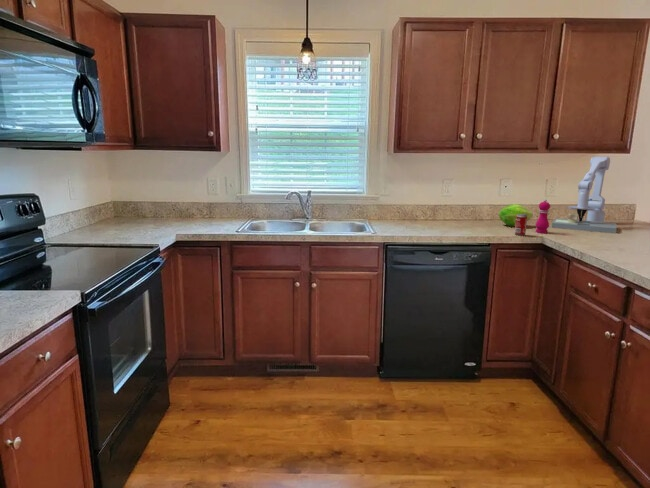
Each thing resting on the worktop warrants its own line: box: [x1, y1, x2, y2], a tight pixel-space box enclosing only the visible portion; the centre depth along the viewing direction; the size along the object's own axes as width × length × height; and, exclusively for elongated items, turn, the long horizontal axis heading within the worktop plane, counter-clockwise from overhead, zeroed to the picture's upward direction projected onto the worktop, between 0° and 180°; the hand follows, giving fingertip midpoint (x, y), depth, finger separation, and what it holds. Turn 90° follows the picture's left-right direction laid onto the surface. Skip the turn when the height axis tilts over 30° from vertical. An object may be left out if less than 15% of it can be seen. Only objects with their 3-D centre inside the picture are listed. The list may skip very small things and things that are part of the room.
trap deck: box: [551, 217, 618, 234], centre depth 271 cm, size 34×22×3 cm, turn 56°
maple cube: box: [567, 213, 579, 223], centre depth 273 cm, size 5×5×5 cm
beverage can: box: [514, 214, 528, 237], centre depth 246 cm, size 6×6×12 cm
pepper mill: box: [535, 199, 551, 234], centre depth 253 cm, size 7×7×20 cm
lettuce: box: [498, 203, 534, 227], centre depth 275 cm, size 15×20×14 cm
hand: (580, 221), depth 271 cm, fingers closed
